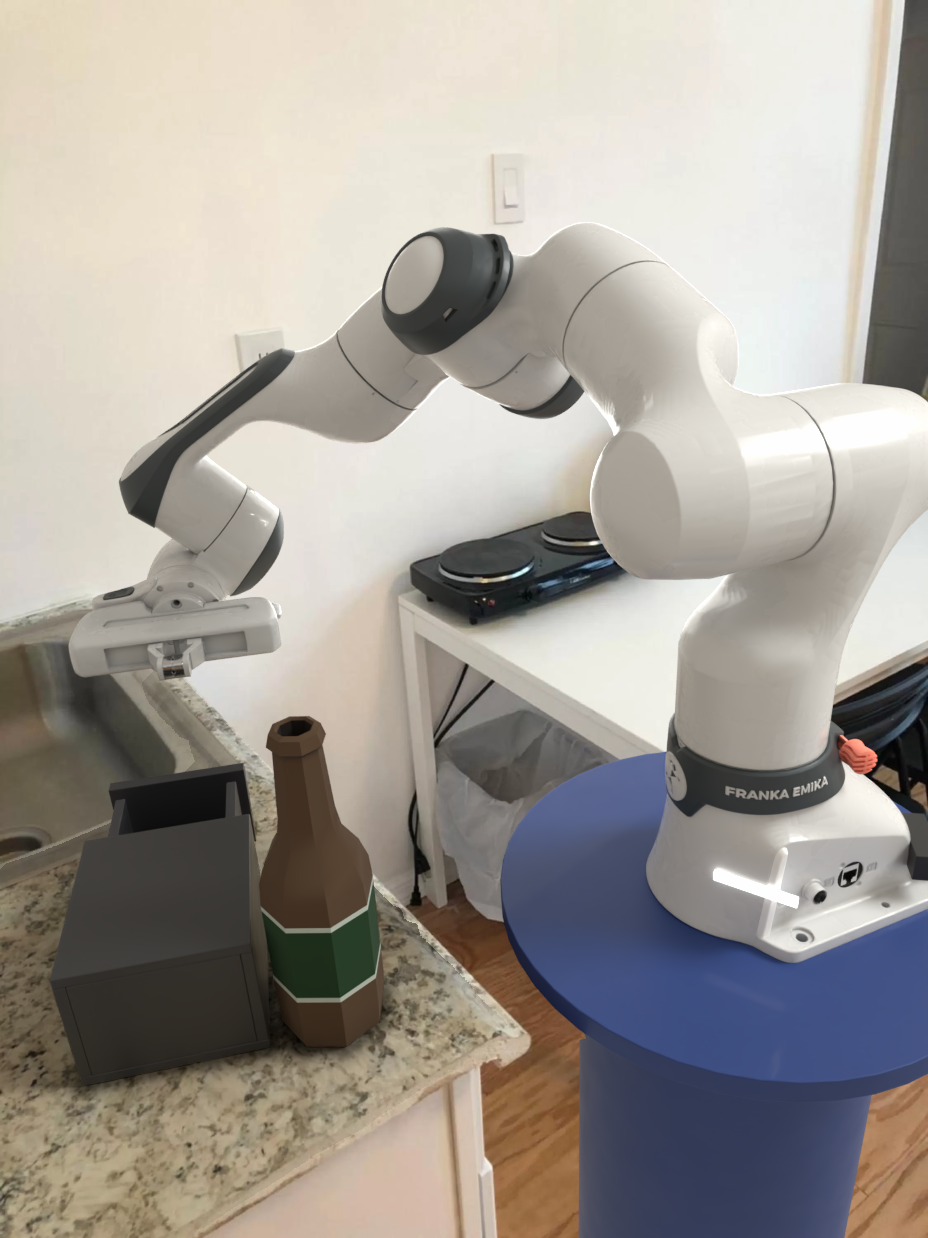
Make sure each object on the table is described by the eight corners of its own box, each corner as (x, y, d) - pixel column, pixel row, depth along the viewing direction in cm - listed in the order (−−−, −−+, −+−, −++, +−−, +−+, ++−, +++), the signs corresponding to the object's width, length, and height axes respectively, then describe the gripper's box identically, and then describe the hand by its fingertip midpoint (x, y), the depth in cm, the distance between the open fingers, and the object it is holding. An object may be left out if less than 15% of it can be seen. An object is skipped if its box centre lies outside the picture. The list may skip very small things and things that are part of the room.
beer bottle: (406, 986, 70) (379, 707, 60) (353, 1068, 63) (312, 771, 53) (318, 957, 73) (278, 687, 63) (259, 1032, 66) (204, 746, 56)
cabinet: (109, 935, 76) (84, 840, 72) (266, 907, 78) (249, 813, 74) (82, 1087, 63) (49, 981, 59) (270, 1048, 65) (250, 943, 61)
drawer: (133, 827, 88) (116, 757, 85) (255, 807, 90) (243, 737, 87) (108, 964, 72) (86, 884, 69) (258, 936, 74) (243, 857, 71)
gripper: (284, 627, 103) (289, 685, 90) (90, 652, 99) (68, 716, 87) (276, 574, 100) (281, 627, 88) (77, 597, 97) (53, 656, 84)
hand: (173, 672), depth 87 cm, fingers closed
